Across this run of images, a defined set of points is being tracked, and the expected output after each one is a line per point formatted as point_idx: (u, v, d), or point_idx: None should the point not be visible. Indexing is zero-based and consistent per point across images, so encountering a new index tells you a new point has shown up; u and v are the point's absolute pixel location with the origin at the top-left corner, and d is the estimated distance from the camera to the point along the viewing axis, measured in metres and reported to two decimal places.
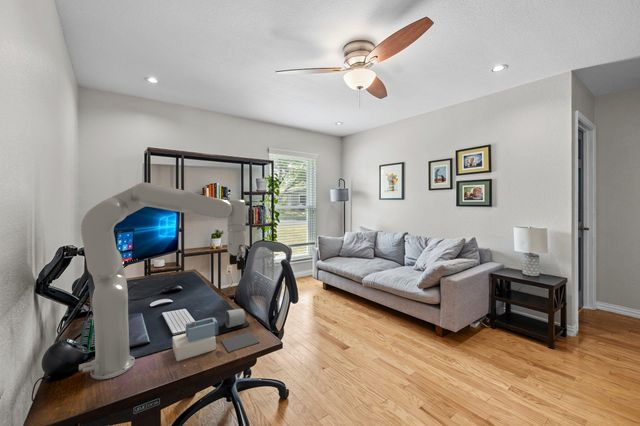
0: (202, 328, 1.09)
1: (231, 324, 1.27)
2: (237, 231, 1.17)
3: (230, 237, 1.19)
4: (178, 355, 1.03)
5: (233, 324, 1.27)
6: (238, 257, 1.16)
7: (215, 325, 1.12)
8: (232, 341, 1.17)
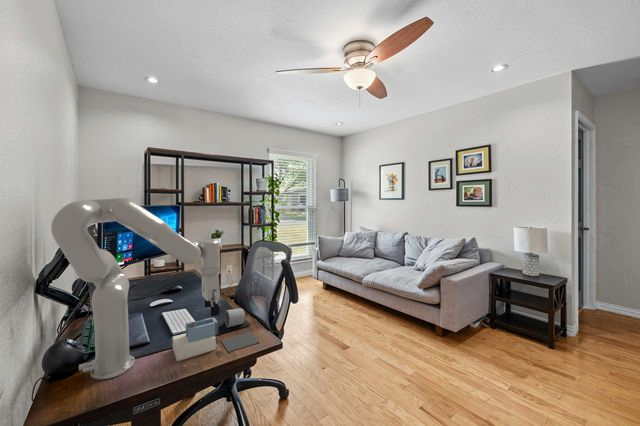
0: (202, 328, 1.09)
1: (231, 324, 1.27)
2: (210, 275, 1.09)
3: (203, 281, 1.11)
4: (178, 355, 1.03)
5: (233, 324, 1.28)
6: (212, 303, 1.08)
7: (215, 325, 1.12)
8: (232, 341, 1.17)
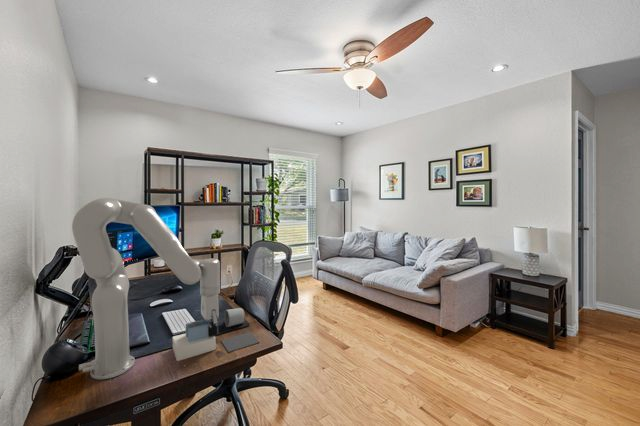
0: (202, 328, 1.09)
1: (230, 323, 1.28)
2: (210, 294, 1.09)
3: (203, 300, 1.11)
4: (178, 355, 1.03)
5: (232, 323, 1.28)
6: (210, 324, 1.10)
7: None
8: (232, 341, 1.17)
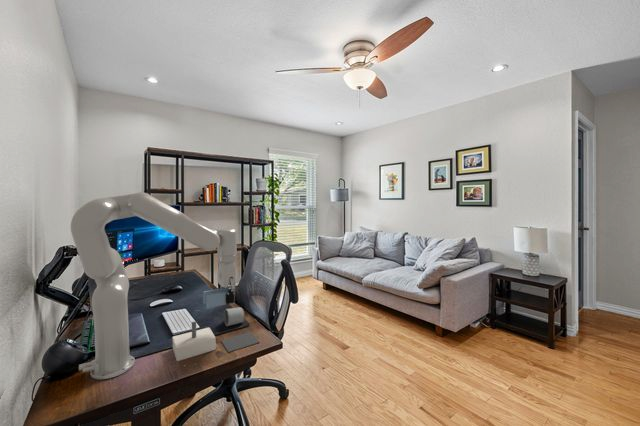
0: (220, 295, 1.12)
1: (230, 322, 1.28)
2: (227, 262, 1.12)
3: (220, 268, 1.14)
4: (178, 355, 1.03)
5: (232, 322, 1.29)
6: (227, 291, 1.12)
7: None
8: (232, 341, 1.17)
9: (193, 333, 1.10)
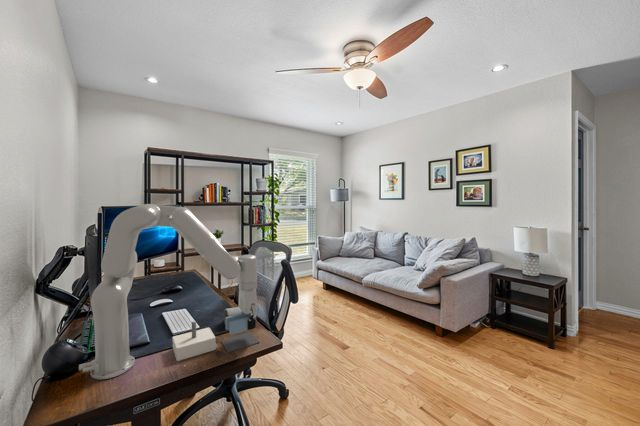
0: (242, 321, 1.14)
1: None
2: (249, 289, 1.14)
3: (241, 294, 1.15)
4: (178, 355, 1.03)
5: None
6: (249, 317, 1.14)
7: None
8: (232, 341, 1.17)
9: (193, 333, 1.10)
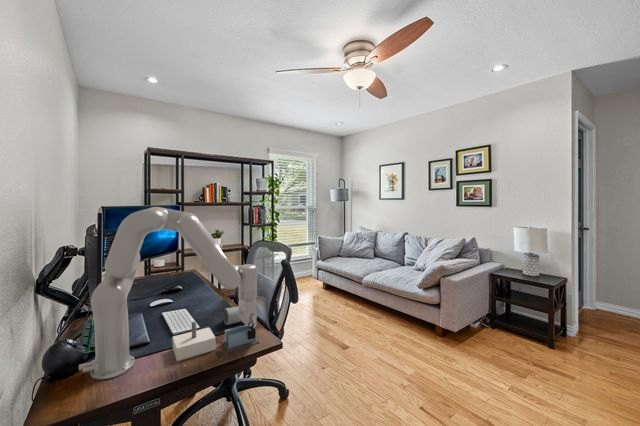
0: (241, 334, 1.14)
1: (229, 321, 1.29)
2: (249, 299, 1.14)
3: (241, 304, 1.16)
4: (178, 355, 1.03)
5: (231, 321, 1.30)
6: (249, 327, 1.13)
7: None
8: None
9: (193, 333, 1.10)
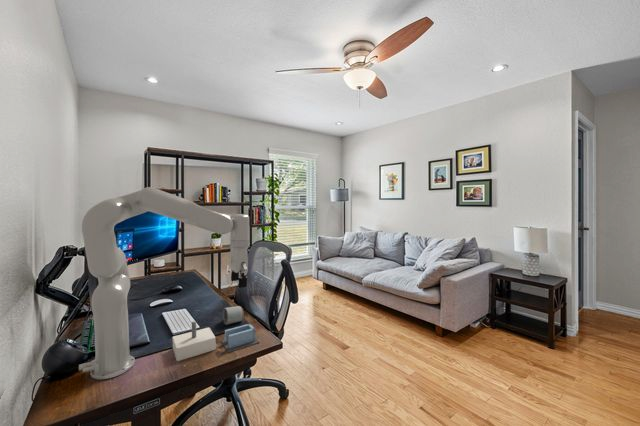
0: (241, 334, 1.14)
1: (229, 321, 1.30)
2: (240, 247, 1.12)
3: (232, 253, 1.14)
4: (178, 355, 1.03)
5: (231, 321, 1.30)
6: (240, 275, 1.11)
7: (253, 331, 1.17)
8: None
9: (193, 333, 1.10)
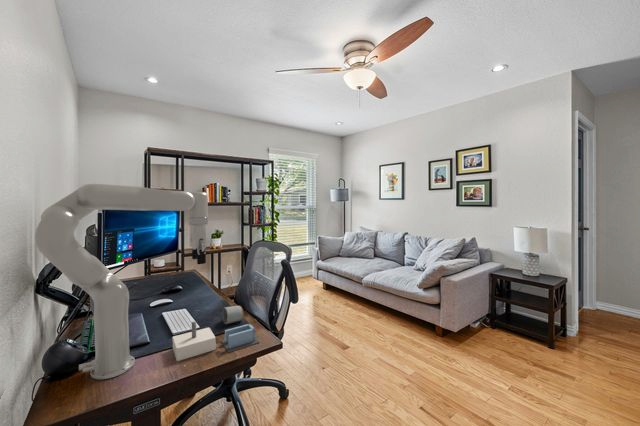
0: (241, 334, 1.14)
1: (229, 320, 1.30)
2: (197, 224, 1.13)
3: (191, 230, 1.15)
4: (178, 355, 1.03)
5: (231, 320, 1.31)
6: (198, 251, 1.12)
7: (253, 331, 1.17)
8: None
9: (193, 333, 1.10)
